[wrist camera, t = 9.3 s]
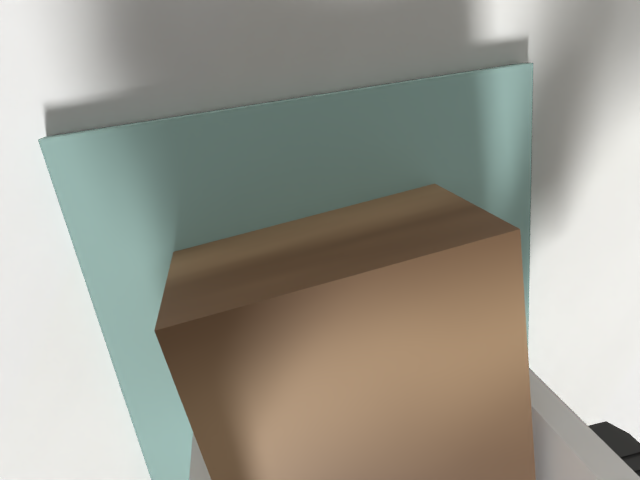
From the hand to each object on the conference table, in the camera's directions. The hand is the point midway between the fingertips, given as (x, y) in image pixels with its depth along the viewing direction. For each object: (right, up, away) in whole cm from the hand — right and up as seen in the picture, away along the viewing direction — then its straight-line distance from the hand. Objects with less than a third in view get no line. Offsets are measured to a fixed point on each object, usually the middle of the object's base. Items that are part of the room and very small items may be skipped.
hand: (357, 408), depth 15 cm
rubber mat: (0, 0, +1) cm, 1 cm away
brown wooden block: (0, 0, 0) cm, 0 cm away
